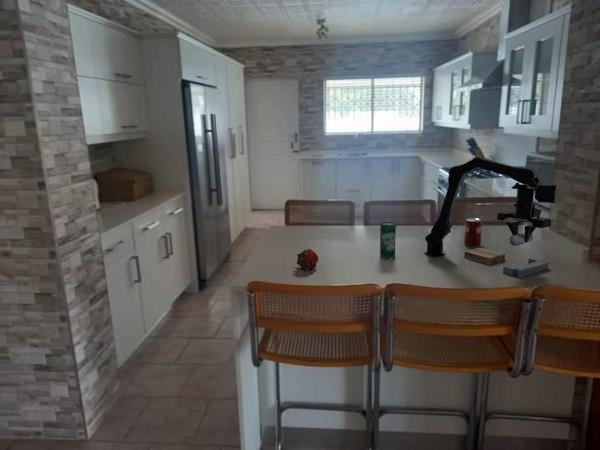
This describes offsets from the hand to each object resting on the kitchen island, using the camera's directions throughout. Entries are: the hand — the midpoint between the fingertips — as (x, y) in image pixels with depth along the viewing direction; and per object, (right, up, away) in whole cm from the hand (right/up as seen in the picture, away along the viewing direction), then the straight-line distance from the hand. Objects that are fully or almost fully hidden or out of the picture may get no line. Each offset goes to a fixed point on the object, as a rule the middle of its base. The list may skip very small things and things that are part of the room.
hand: (521, 241), depth 172 cm
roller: (0, -1, 0) cm, 1 cm away
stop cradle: (+2, -11, 0) cm, 11 cm away
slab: (-8, -8, +15) cm, 19 cm away
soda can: (-5, -3, +35) cm, 36 cm away
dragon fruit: (-82, -11, +10) cm, 83 cm away
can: (-47, -8, +21) cm, 52 cm away
